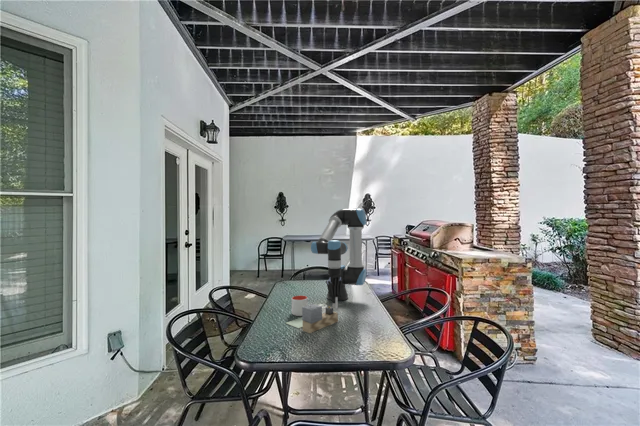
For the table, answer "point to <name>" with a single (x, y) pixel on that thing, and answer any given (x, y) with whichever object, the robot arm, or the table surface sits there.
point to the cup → (298, 304)
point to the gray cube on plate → (312, 313)
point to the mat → (296, 323)
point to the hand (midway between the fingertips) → (335, 308)
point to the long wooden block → (321, 322)
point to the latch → (329, 310)
